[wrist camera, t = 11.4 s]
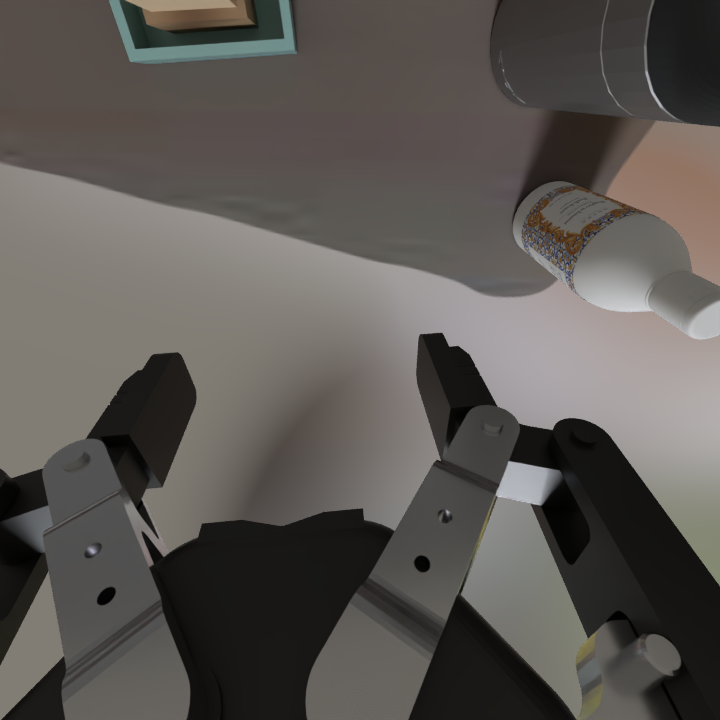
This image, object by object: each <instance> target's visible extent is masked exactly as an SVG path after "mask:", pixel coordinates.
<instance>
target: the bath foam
mask: <svg viewBox="0 0 720 720" xmlns="http://www.w3.org/2000/svg"><path fill="white" fill-rule="evenodd" d="M513 234H514V238H515V240H516V242H517V244H518V245H519V246H520V247H521V248H522V249H523V250H524V251H525V252H527V253H528V254H529V255H530V256H531V257H532V258H534V259H535V260H536V261H537V262H538V263H540V264H541V265H542V266H543V267H545V268H546V269H547V270H548V271H549V272H551V273H552V274H553V275H554V276H556V277H557V278H558V279H559V280H561V281H562V282H563V283H564V284H565V285H567V286H568V287H569V288H571V289H572V290H573V291H574V292H575V293H577V294H578V295H579V296H580V297H581V298H583V299H584V300H586V301H588V302H590V303H592V304H594V305H596V306H598V307H601V308H604V309H608V310H612V311H619V312H642V311H654V312H655V313H656V314H658V315H659V316H661V317H662V318H664V319H665V320H667V321H668V322H669V323H671V324H672V325H674V326H676V327H677V328H678V329H680V330H681V331H683V332H684V333H686V334H687V335H689V336H690V337H692V338H695V339H708V338H712V337H715V336H717V335H719V334H720V286H718V285H716V284H714V283H712V282H710V281H708V280H706V279H704V278H702V277H700V276H698V275H695V274H693V273H692V267H691V261H690V256H689V252H688V249H687V246H686V245H685V242H684V240H683V239H682V237H681V236H680V235H679V233H678V232H677V231H676V230H675V229H674V228H673V227H671V226H670V225H669V224H668V223H666V222H665V221H663V220H661V219H660V218H658V217H656V216H654V215H652V214H649V213H646V212H644V211H641V210H639V209H636V208H633V207H631V206H629V205H626V204H623V203H621V202H618V201H616V200H613V199H610V198H608V197H605V196H603V195H600V194H598V193H595V192H593V191H590V190H588V189H585V188H582V187H580V186H577V185H574V184H572V183H569V182H564V181H554V182H550V183H547V184H544V185H542V186H540V187H538V188H537V189H535V190H534V191H532V192H531V193H530V194H529V195H528V196H527V197H526V198H525V199H524V200H523V202H522V203H521V204H520V206H519V208H518V210H517V212H516V214H515V217H514V221H513Z"/></svg>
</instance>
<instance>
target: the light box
mask: <svg viewBox="0 0 720 720" xmlns="http://www.w3.org/2000/svg"><path fill="white" fill-rule="evenodd" d="M125 1H128V2H130V3H132V4H135V5H137V6H139V7H142V8H144V9H146V10H149V11H151V12H156V11H174V10H193V9H211V8H230V7H237V6H236V0H125Z"/></svg>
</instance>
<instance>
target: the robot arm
mask: <svg viewBox="0 0 720 720" xmlns="http://www.w3.org/2000/svg"><path fill="white" fill-rule="evenodd" d="M490 58H491V64H492V71H493V74H494V77H495V79H496V82H497V84H498V86H499V87H500V89H501V90H502V92H503V93H504V95H506V96H507V97H508V98H509V99H510V100H511V101H513V102H515V103H517V104H519V105H521V106H527V107H535V108H544V109H550V110H560V111H569V112H579V113H589V114H598V115H608V116H617V117H627V118H636V119H648V120H658V121H667V122H677V123H687V124H699V125H708V126H719V127H720V0H502V2H501V4H500V6H499V9H498V12H497V15H496V18H495V21H494V24H493V30H492V36H491V50H490ZM416 376H417V384H418V388H419V391H420V395H421V398H422V401H423V404H424V407H425V411H426V414H427V417H428V420H429V423H430V426H431V430H432V433H433V436H434V439H435V443H436V446H437V449H438V452H439V455H440V459H441V461H439V460H436V461H435V462H434V464H433V465H432V467H431V469H430V471H429V472H428V474H427V476H426V477H425V479H424V481H423V483H422V484H421V486H420V488H419V490H418V491H417V493H416V495H415V497H414V498H413V500H412V502H411V504H410V505H409V507H408V509H407V511H406V512H405V514H404V516H403V518H402V520H401V521H400V523H399V525H398V526H397V528H396V530H395V531H394V530H392V529H390V528H388V527H386V526H384V525H382V524H378V523H375V522H371V521H366V520H364V516H363V509H351V510H341V511H331V512H323V513H320V514H317V515H314V516H311V517H308V518H305V519H303V520H300V521H297V522H294V523H291V524H288V525H285V526H276V525H270V524H264V523H258V522H251V521H245V520H236V521H226V522H215V523H205V524H202V526H201V529H200V533H199V537H198V538H196V539H193V540H191V541H189V542H187V543H184V544H183V545H181V546H179V547H177V548H176V549H174V550H173V551H171V552H170V553H169V552H168V550H167V548H166V546H165V544H164V542H163V540H162V537H161V535H160V533H159V531H158V529H157V527H156V524H155V522H154V520H153V518H152V515H151V514H150V511H149V509H148V507H147V505H146V502H145V501H144V499H143V498H142V497H143V494H144V492H145V490H146V489H149V488H158V487H159V488H160V487H163V484H164V482H165V480H166V477H167V475H168V472H169V470H170V467H171V465H172V462H173V460H174V457H175V454H176V452H177V450H178V447H179V445H180V442H181V440H182V437H183V435H184V432H185V429H186V427H187V425H188V422H189V420H190V417H191V414H192V412H193V410H194V407H195V404H196V389H195V386H194V384H193V381H192V379H191V377H190V374H189V372H188V369H187V367H186V365H185V363H184V360H183V358H182V356H181V354H179V353H163V354H153V355H152V356H151V357H150V359H149V360H148V362H147V363H146V365H145V366H144V368H143V370H138V371H137V372H135V373H134V374H133V375H132V376H130V377H129V378H128V379H127V380H126V381H124V383H123V384H122V386H121V387H120V389H119V390H118V392H117V395H115V396H114V398H113V399H112V401H111V402H110V405H108V407H107V408H106V409H105V411H104V412H103V414H102V416H101V417H100V418H99V420H98V422H97V423H96V424H95V426H94V427H93V429H92V430H91V432H90V433H89V435H88V436H87V438H86V439H84V440H80V441H76V442H74V443H71V444H69V445H67V446H66V447H64V448H62V449H61V450H59V451H58V452H56V453H55V454H54V455H53V456H52V457H51V458H50V459H49V460H48V461H47V463H46V464H45V466H44V468H43V469H40V470H36V471H33V472H30V473H27V474H24V475H21V476H17V477H14V478H10V477H9V476H8V475H7V474H6V473H5V472H4V471H3V470H2V469H0V665H1V663H2V661H3V659H4V657H5V655H6V653H7V651H8V649H9V647H10V645H11V643H12V641H13V639H14V637H15V635H16V634H17V632H18V630H19V628H20V626H21V624H22V622H23V620H24V618H25V616H26V614H27V612H28V610H29V608H30V606H31V604H32V602H33V600H34V598H35V596H36V594H37V592H38V590H39V588H40V586H41V585H42V583H43V581H44V579H45V577H46V575H47V573H48V571H49V576H50V581H51V587H52V592H53V597H54V603H55V608H56V614H57V619H58V625H59V631H60V636H61V641H62V647H63V652H64V657H63V658H62V659H61V660H60V661H59V662H58V663H57V664H56V665H55V666H54V667H53V668H52V669H51V670H50V671H49V672H48V673H47V674H46V675H45V676H44V677H43V678H42V679H41V680H40V681H39V682H38V683H37V684H36V685H35V686H34V687H33V689H31V690H30V691H29V692H28V693H27V694H26V696H24V697H23V698H22V699H21V700H20V701H19V702H18V703H17V704H16V705H15V706H14V707H13V708H12V709H11V711H9V712H8V714H6V716H5V717H4V718H3V719H2V720H576V719H575V717H574V715H573V714H572V712H571V711H570V710H569V708H568V707H567V706H566V704H565V703H564V702H563V700H562V699H561V698H560V697H559V696H558V694H557V693H556V692H555V691H554V690H553V689H552V688H551V687H550V686H549V685H548V684H547V683H546V682H545V681H544V680H543V679H542V678H541V677H540V676H539V674H537V673H536V671H535V670H534V669H533V668H532V667H531V666H530V665H529V664H528V663H527V662H526V661H525V660H524V659H523V658H522V657H521V656H520V655H519V654H518V653H517V652H516V651H515V650H514V649H513V648H512V647H511V646H510V645H509V644H508V643H507V642H506V641H505V640H504V639H503V638H502V637H501V636H500V634H499V633H498V632H497V631H496V630H495V629H494V628H493V627H492V626H491V625H490V624H489V623H488V622H487V621H486V620H485V619H484V618H483V617H482V616H481V615H480V614H479V613H478V612H477V611H476V610H475V609H474V608H473V607H472V606H471V605H470V604H469V603H468V602H467V601H466V600H465V599H464V598H463V597H462V596H461V594H462V592H463V589H464V586H465V584H466V581H467V578H468V575H469V573H470V570H471V568H472V565H473V562H474V559H475V556H476V553H477V551H478V548H479V545H480V542H481V540H482V537H483V534H484V532H485V529H486V526H487V524H488V521H489V518H490V516H491V513H492V510H493V508H494V505H495V502H496V500H497V497H503V498H508V499H513V500H517V501H522V502H527V503H531V506H532V508H533V510H534V513H535V515H536V517H537V520H538V522H539V524H540V527H541V529H542V531H543V534H544V536H545V538H546V541H547V543H548V545H549V548H550V550H551V553H552V555H553V557H554V559H555V562H556V564H557V567H558V569H559V571H560V574H561V576H562V578H563V581H564V583H565V585H566V587H567V590H568V592H569V595H570V597H571V599H572V602H573V604H574V607H575V609H576V611H577V614H578V616H579V618H580V620H581V623H582V625H583V628H584V630H585V632H586V635H587V637H588V639H587V640H586V641H585V643H583V644H582V646H581V647H580V648H579V651H578V653H577V657H576V669H577V675H578V679H579V683H580V687H581V692H582V708H581V712H580V715H579V717H578V719H577V720H720V586H719V584H718V583H717V582H716V581H715V579H714V578H713V576H712V575H711V574H710V572H709V571H708V570H707V568H706V567H705V565H704V564H703V563H702V561H701V560H700V559H699V557H698V556H697V555H696V553H695V552H694V551H693V549H692V548H691V546H690V545H689V544H688V542H687V541H686V539H685V538H684V537H683V535H682V534H681V533H680V531H679V530H678V529H677V527H676V526H675V525H674V523H673V522H672V520H671V519H670V518H669V516H668V515H667V514H666V512H665V511H664V509H663V508H662V507H661V505H660V504H659V503H658V501H657V500H656V499H655V497H654V496H653V494H652V493H651V492H650V490H649V489H648V488H647V487H646V485H645V483H644V482H643V481H642V479H641V478H640V477H639V475H638V474H637V473H636V471H635V470H634V468H633V467H632V466H631V464H630V463H629V462H628V460H627V459H626V458H625V456H624V455H623V454H622V452H621V451H620V449H619V448H618V447H617V445H616V444H615V443H614V441H613V440H612V438H611V437H610V436H609V435H608V434H607V433H606V432H605V431H604V430H603V429H601V428H600V427H599V426H597V425H595V424H593V423H591V422H588V421H585V420H582V419H576V418H568V419H563V420H560V421H559V422H557V423H556V425H555V426H554V428H553V430H549V429H543V428H537V427H530V426H526V425H522V424H519V423H518V421H517V419H516V418H515V417H514V416H513V415H512V414H511V413H509V412H508V411H506V410H505V409H502V408H500V407H497V405H496V403H495V401H494V399H493V397H492V396H491V394H490V392H489V390H488V388H487V386H486V385H485V383H484V381H483V379H482V377H481V376H480V373H479V372H478V370H477V368H476V367H475V364H474V362H473V360H472V359H471V357H470V355H469V354H468V353H467V352H465V351H464V350H463V349H461V348H460V347H459V346H453V347H449V346H448V343H447V341H446V339H445V337H444V335H443V334H442V333H433V334H420V336H419V341H418V355H417V370H416Z"/></svg>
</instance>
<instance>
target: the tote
mask: <svg viewBox="0 0 720 720" xmlns="http://www.w3.org/2000/svg"><path fill="white" fill-rule="evenodd" d="M109 2H110V5H111V8H112V10H113V13H114V16H115V19H116V22H117V25H118V28H119V31H120V34H121V37H122V40H123V43H124V45H125V48H126V51H127V54H128V57H129V60H130V62H137V63H145V64H158V63H172V62H186V61H200V60H214V59H228V58H242V57H256V56H270V55H285V54H298V52H297V44H296V36H295V28H294V20H293V12H292V4H291V0H254V2H255V8H256V14H257V20H258V26H259V28H252V29H237V30H223V31H208V32H194V33H179V34H173V33H170V32H167V31H164V30H161V29H158V28H156V27H153V26H150V25H147V24H146V20H145V17H144V14H143V11H142V7H139V6H137V5H135V4H132V3H130V2H128V1H125V0H109Z"/></svg>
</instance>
